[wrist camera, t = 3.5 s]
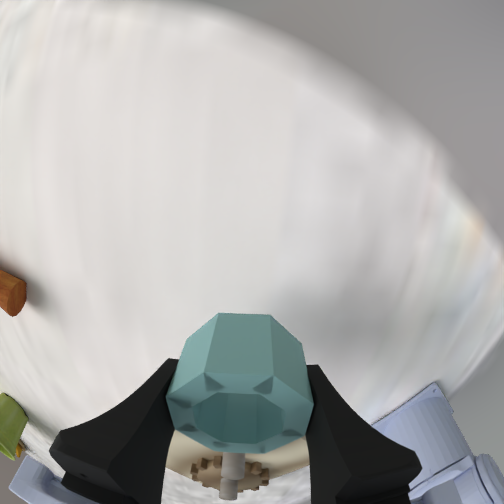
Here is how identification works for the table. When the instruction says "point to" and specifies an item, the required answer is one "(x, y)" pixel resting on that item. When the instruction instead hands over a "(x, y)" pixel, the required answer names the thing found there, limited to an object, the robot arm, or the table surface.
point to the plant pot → (10, 425)
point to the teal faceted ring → (241, 385)
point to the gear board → (269, 459)
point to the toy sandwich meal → (19, 448)
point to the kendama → (12, 293)
